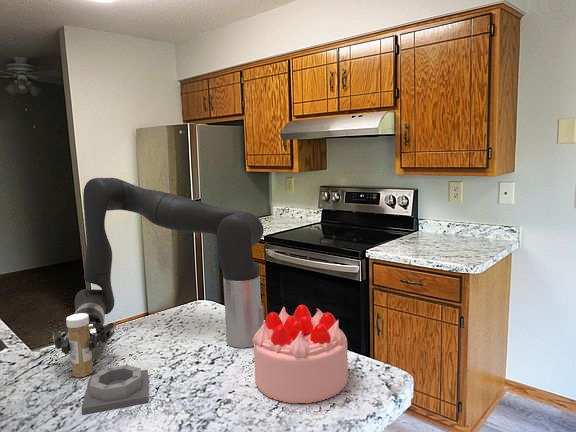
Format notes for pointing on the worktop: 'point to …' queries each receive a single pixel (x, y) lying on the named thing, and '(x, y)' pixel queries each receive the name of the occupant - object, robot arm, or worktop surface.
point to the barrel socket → (116, 389)
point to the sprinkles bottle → (79, 344)
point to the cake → (300, 356)
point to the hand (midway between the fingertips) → (78, 348)
